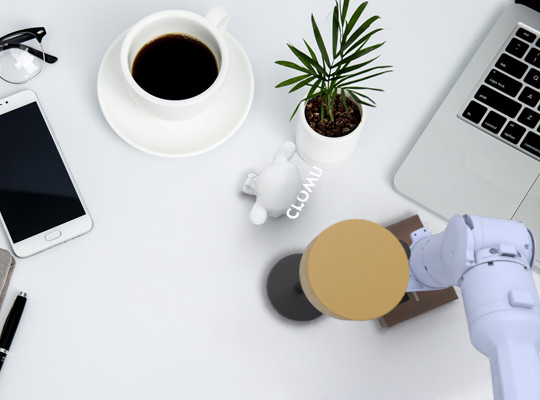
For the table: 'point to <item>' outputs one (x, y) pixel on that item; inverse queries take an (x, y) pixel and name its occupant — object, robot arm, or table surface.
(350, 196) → the table surface
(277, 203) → the figurine
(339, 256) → the desk lamp
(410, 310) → the dial panel
